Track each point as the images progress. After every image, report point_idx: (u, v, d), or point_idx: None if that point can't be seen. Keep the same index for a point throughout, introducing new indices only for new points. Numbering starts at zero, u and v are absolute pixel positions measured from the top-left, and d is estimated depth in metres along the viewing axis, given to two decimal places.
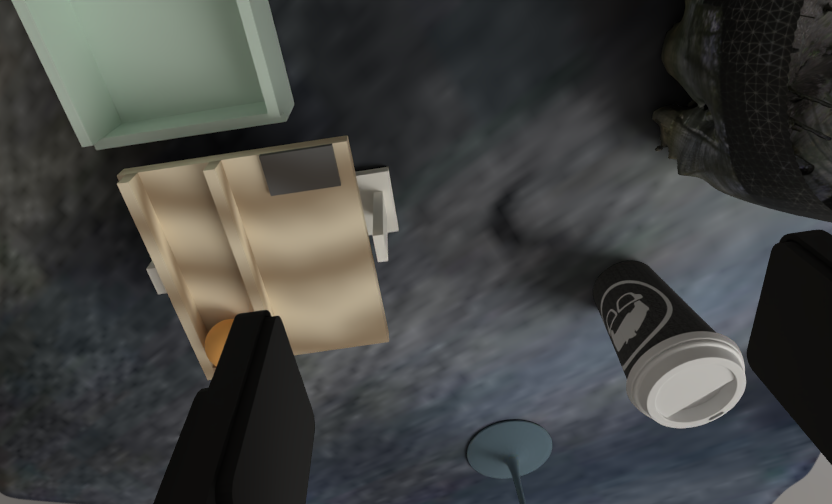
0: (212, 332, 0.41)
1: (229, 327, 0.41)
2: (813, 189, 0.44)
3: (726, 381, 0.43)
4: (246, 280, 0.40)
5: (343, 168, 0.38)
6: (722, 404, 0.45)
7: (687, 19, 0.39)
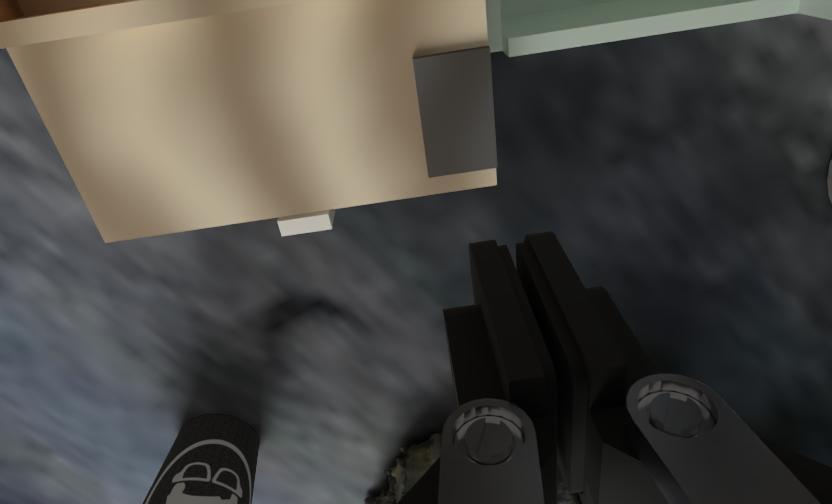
0: None
1: None
2: None
3: None
4: None
5: (453, 178, 0.24)
6: None
7: None
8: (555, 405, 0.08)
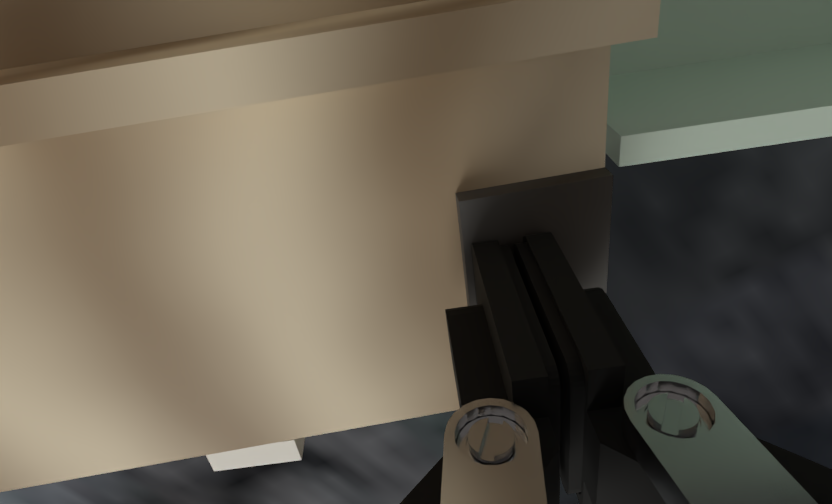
0: None
1: None
2: None
3: None
4: (30, 98, 0.07)
5: None
6: None
7: None
8: (558, 405, 0.08)
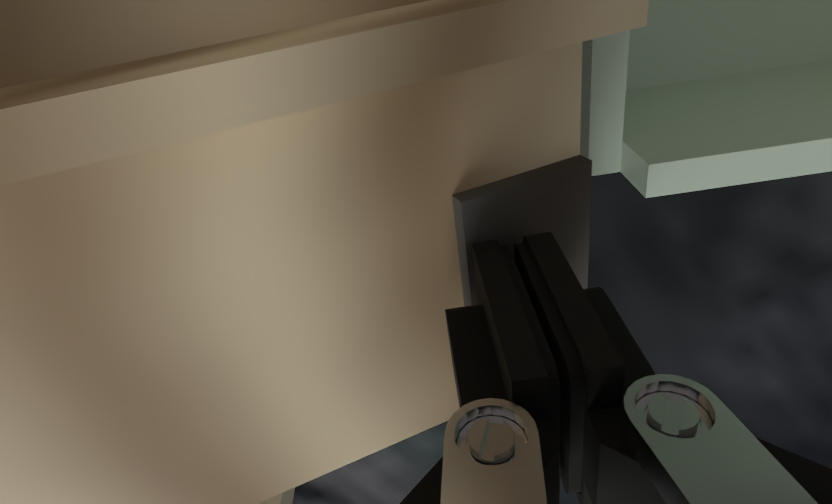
0: None
1: None
2: None
3: None
4: (10, 129, 0.06)
5: None
6: None
7: None
8: (558, 405, 0.08)
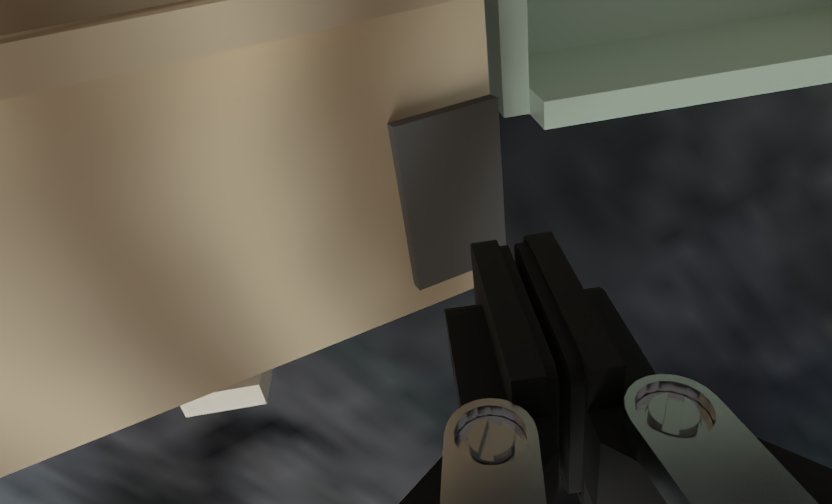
0: None
1: None
2: None
3: None
4: (62, 48, 0.09)
5: (447, 281, 0.17)
6: None
7: None
8: (557, 405, 0.08)
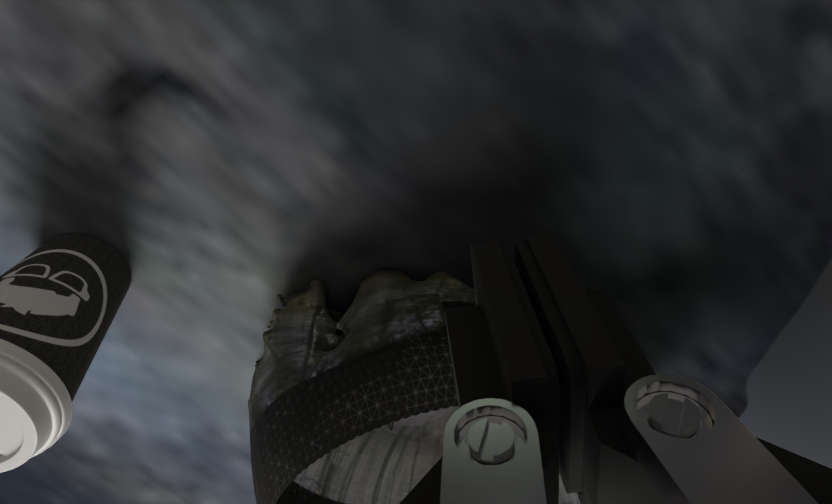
0: None
1: None
2: None
3: None
4: None
5: None
6: None
7: (420, 289, 0.39)
8: (557, 405, 0.08)
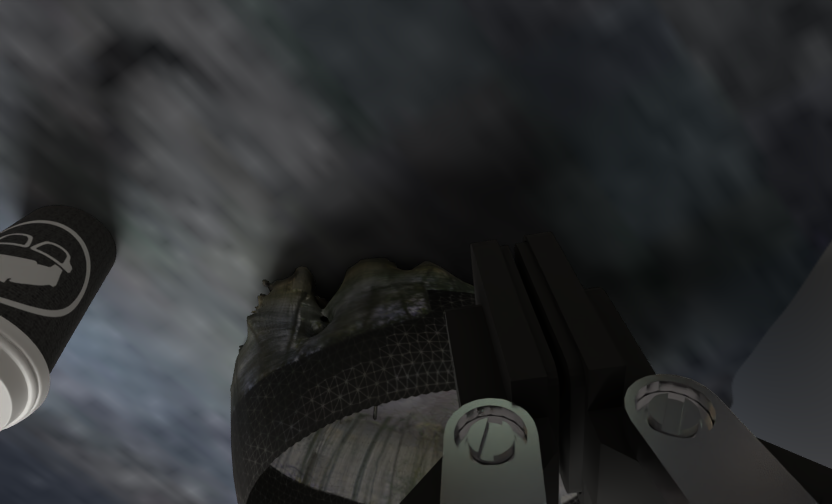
0: None
1: None
2: None
3: None
4: None
5: None
6: None
7: (406, 277, 0.39)
8: (557, 405, 0.08)
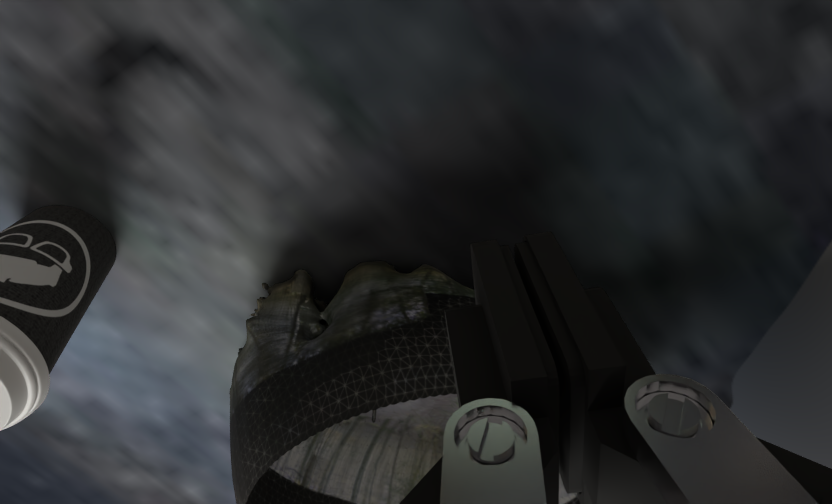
0: None
1: None
2: None
3: None
4: None
5: None
6: None
7: (405, 280, 0.39)
8: (557, 405, 0.08)
